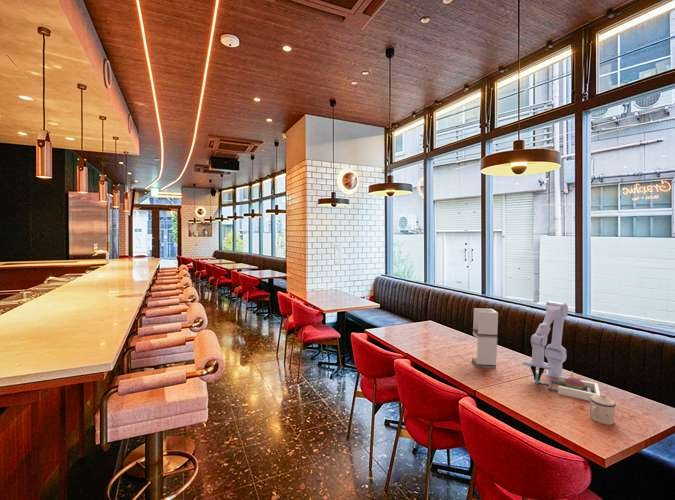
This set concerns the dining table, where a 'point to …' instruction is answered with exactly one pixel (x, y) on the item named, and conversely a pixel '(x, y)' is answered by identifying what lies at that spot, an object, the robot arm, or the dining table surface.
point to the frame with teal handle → (556, 383)
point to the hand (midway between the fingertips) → (536, 380)
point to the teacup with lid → (602, 409)
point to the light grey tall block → (485, 337)
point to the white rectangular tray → (578, 393)
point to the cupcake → (574, 383)
